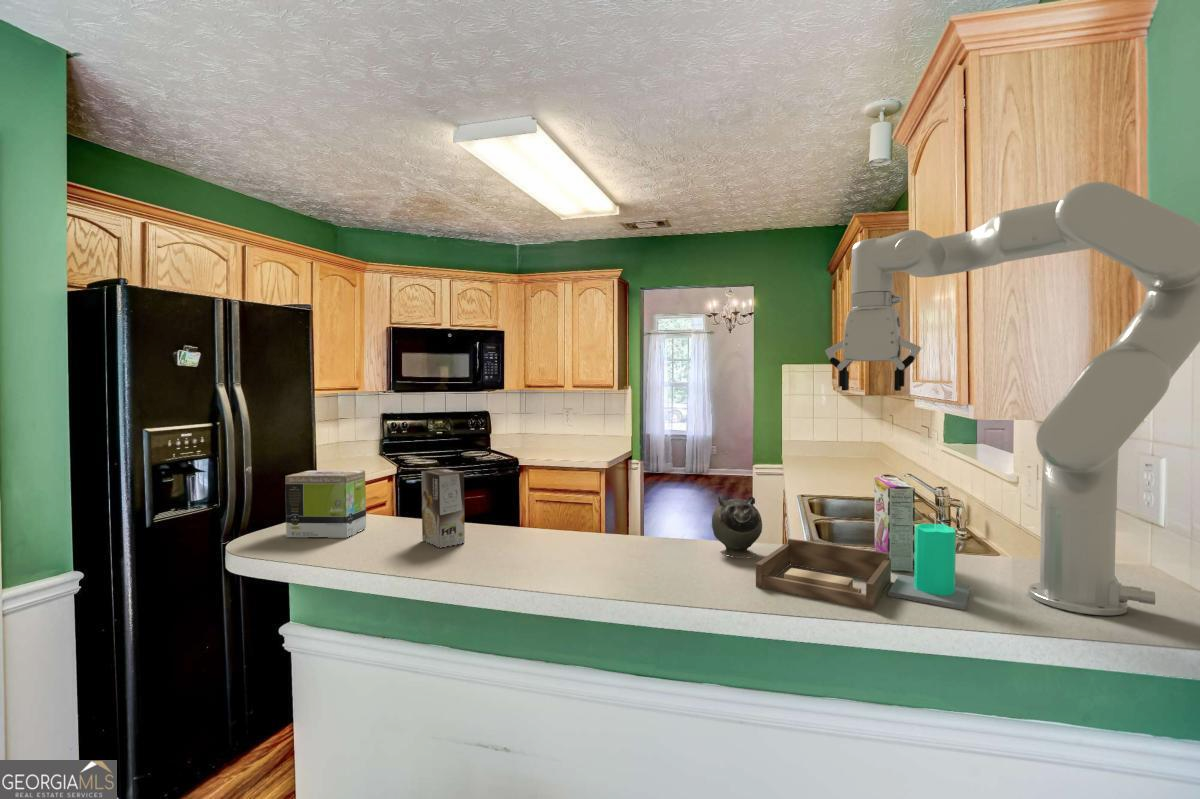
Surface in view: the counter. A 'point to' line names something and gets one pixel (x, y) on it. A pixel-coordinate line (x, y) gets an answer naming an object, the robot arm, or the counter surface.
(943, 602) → the mat
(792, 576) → the offcut stack
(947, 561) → the candle
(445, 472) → the coffee box
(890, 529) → the candy bar box
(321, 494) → the tea box
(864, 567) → the wooden tray
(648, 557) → the counter surface
